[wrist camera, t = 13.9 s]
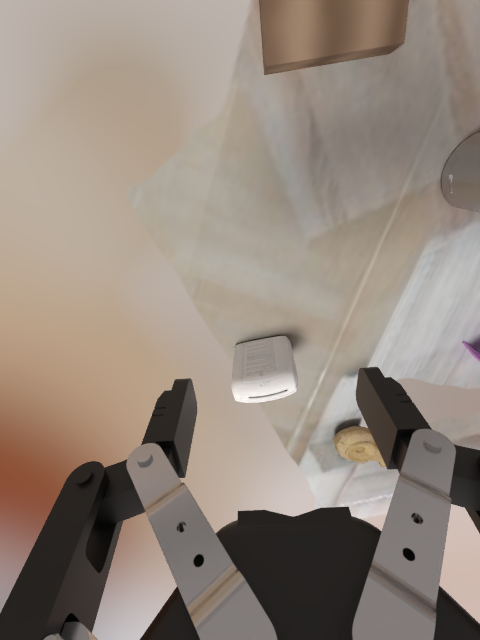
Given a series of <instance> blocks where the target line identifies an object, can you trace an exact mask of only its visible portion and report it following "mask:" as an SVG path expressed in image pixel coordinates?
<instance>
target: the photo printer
mask: <svg viewBox="0 0 480 640" xmlns="http://www.w3.org/2000/svg"><path fill="white" fill-rule="evenodd" d="M297 384H298V376H297V371H296V366H295V361H294V357H293V352H292V347H291V343H290V340H289V339H288V338H287V337H286V336H276V337H270V338H265V339H259V340H254V341H249V342H245V343H241V344H238V345H236V346H235V350H234V359H233V371H232V382H231V388H232V393H233V395H234V397H235V400H236V401H239V402H246V403H247V402H248V403H256V402H265V401H271V400H275V399H279V398H283V397H286V396H288V395H291V394H293V393H295V392H296V391H297Z"/></svg>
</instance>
